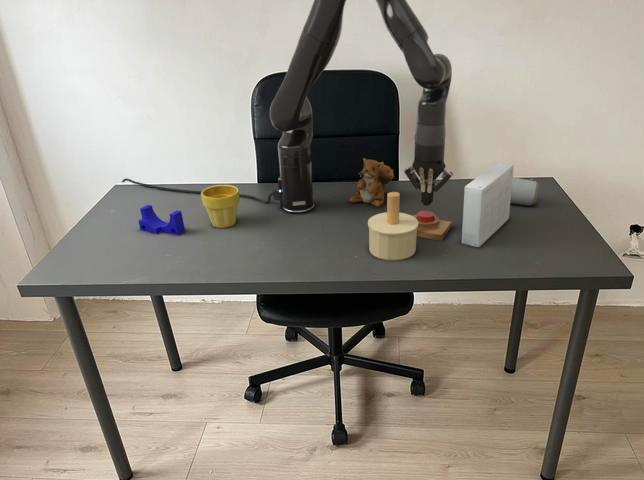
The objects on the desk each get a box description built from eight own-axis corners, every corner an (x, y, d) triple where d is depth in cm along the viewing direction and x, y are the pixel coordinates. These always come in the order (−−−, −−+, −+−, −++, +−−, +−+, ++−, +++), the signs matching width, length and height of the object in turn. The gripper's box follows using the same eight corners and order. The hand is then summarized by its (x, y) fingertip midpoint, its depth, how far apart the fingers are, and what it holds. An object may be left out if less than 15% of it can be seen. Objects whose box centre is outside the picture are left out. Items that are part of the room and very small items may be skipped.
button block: (398, 233, 147) (398, 221, 146) (410, 220, 154) (410, 208, 153) (441, 240, 143) (442, 228, 141) (451, 227, 150) (452, 215, 148)
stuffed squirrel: (347, 203, 166) (346, 161, 159) (370, 188, 176) (370, 149, 170) (376, 210, 161) (376, 167, 155) (397, 194, 172) (398, 153, 165)
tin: (361, 254, 137) (361, 229, 134) (380, 235, 146) (380, 211, 143) (406, 264, 132) (406, 238, 129) (421, 243, 142) (423, 219, 138)
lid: (359, 232, 134) (359, 199, 129) (379, 213, 143) (379, 181, 139) (407, 241, 129) (409, 207, 124) (425, 221, 139) (426, 188, 134)
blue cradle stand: (140, 230, 153) (136, 210, 150) (151, 224, 156) (147, 204, 153) (174, 237, 148) (170, 217, 145) (185, 230, 152) (181, 211, 149)
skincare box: (490, 215, 156) (497, 161, 148) (509, 219, 153) (516, 165, 145) (458, 243, 141) (464, 185, 134) (478, 248, 139) (485, 189, 131)
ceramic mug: (535, 209, 159) (539, 184, 155) (506, 206, 161) (509, 182, 157) (536, 197, 167) (540, 173, 164) (508, 194, 170) (512, 170, 166)
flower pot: (249, 218, 158) (245, 186, 153) (231, 232, 150) (226, 199, 145) (218, 213, 161) (213, 182, 156) (198, 228, 153) (193, 195, 148)
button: (415, 221, 146) (415, 215, 145) (420, 215, 150) (420, 209, 149) (430, 224, 145) (431, 218, 144) (435, 218, 148) (436, 212, 147)
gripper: (460, 138, 136) (455, 203, 145) (410, 133, 142) (408, 196, 150) (451, 147, 131) (446, 213, 139) (399, 141, 136) (398, 205, 144)
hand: (426, 204), depth 145 cm, fingers closed
